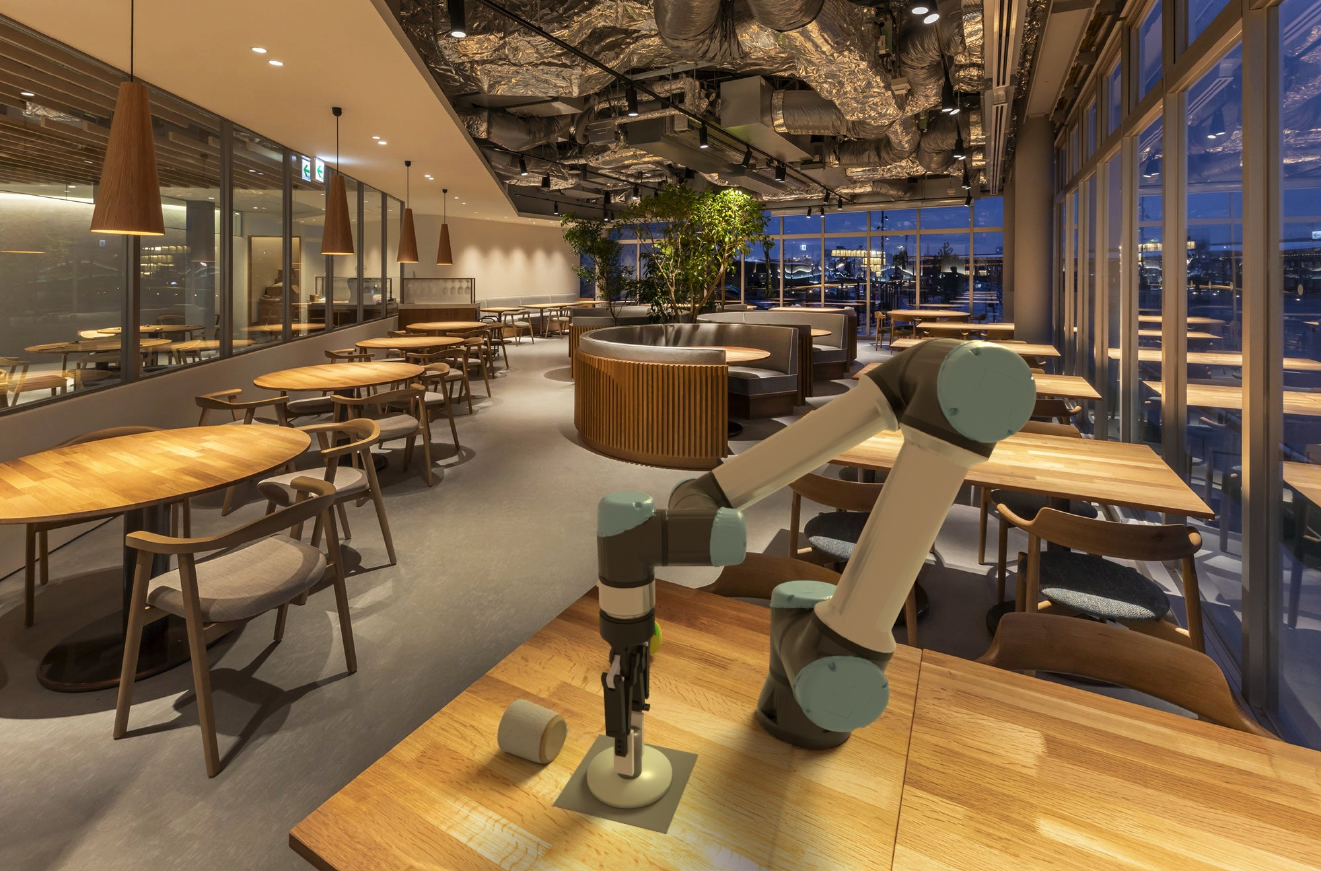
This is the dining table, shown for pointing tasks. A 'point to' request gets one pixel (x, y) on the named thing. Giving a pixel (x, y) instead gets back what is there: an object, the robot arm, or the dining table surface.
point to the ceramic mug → (532, 732)
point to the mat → (646, 817)
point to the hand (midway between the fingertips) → (629, 762)
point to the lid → (630, 777)
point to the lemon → (656, 639)
